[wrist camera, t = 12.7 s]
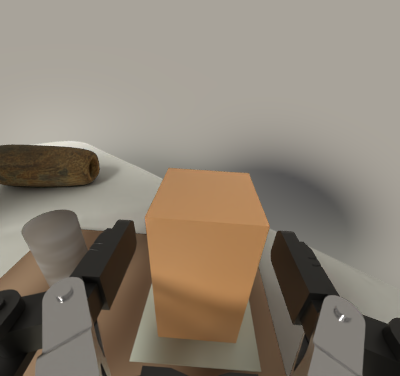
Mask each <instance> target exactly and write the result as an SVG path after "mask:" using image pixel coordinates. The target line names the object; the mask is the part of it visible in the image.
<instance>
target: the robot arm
mask: <svg viewBox="0 0 400 376" xmlns="http://www.w3.org/2000/svg"><path fill="white" fill-rule="evenodd" d="M136 244H137V241H136V234H135V227H134V222H133V221H132V220H118V221H117V222H116V224H115V225H114V227H113V228H112V229H111V228H107V229H106V230H105V231H103V232H102V233H101V234H99V236H98V237H97V239H96V240H95V241H94V244H92V246H91V247H90V248H89V250H88V251H87V253H86V254H85V255H84V257H83V258H82V260H81V261H80V262H79V264H78V265H77V267H76V268H75V269H74V271H73V272H72V274H71V275H70V276H69V278H65V279H62V280H60V281H58V282H57V283H55V284H54V285H52V286H51V287H50V288H49V289H48V290H47V291H45V292H41V293H36V294H32V295H27V296H23V297H21V295H20V294H19V292H18V291H16V290H13V289H7V290H3V291H0V376H23V374H24V373H25V371H26V369H27V367H28V366H29V364H30V362H31V361H32V359H33V357H34V355H35V354H36V352H37V350H39V349H42V354H41V355H39V356H38V357H37V360H36V365H35V376H111V373H110V370H109V367H108V363H107V359H106V355H105V350H104V346H103V341H102V337H101V332H100V328H99V324H98V320H97V318H98V316H99V314H100V312H101V310H110V308H111V306H112V304H113V301H114V299H115V297H116V294H117V292H118V290H119V288H120V285H121V283H122V281H123V278H124V276H125V274H126V271H127V269H128V267H129V264H130V262H131V260H132V257H133V255H134V253H135V250H136ZM271 262H272V265H273V268H274V270H275V273H276V276H277V279H278V282H279V285H280V288H281V291H282V294H283V297H284V300H285V303H286V306H287V309H288V312H289V314H290V317H291V320H292V323H293V324H294V325H302V326H303V329H304V333H303V336H302V339H301V342H300V345H299V348H298V351H297V355H296V358H295V361H294V364H293V367H292V370H291V373H290V376H362V375H363V376H400V318H394V319H392V320H391V321H390V322H389V323H388V324H386V323H384V322H381V321H378V320H375V319H373V318H370V317H367V316H365V315H362V314H361V312H360V311H359V310H358V309H357V308H356V307H355V306H354V305H353V304H352V303H351V302H349V301H348V300H346V299H344V298H342V297H340V296H339V294H338V293H337V291H336V289H335V288H334V286H333V284H332V283H331V281H330V279H329V278H328V276H327V274H326V273H325V271H324V269H323V268H322V267H321V264H320V263H319V261H318V260H317V258H316V256H315V254H314V253H313V251H312V250H311V249H310V248H309V247H308V246H307V245H306V244H305V243H304V242H299V240H298V239H297V237H296V235H295V233H294V232H291V231H278V232H277V234H276V237H275V240H274V243H273V246H272V249H271ZM138 376H188V375H186V374H184V373H182V372H179V371H177V370H175V369H173V368H168V367H155V366H142V370H141V374H140V375H138ZM218 376H258V374H247V373H234V372H229V373H225V374H221V375H218Z"/></svg>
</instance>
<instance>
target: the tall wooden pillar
mask: <svg viewBox="0 0 400 376" xmlns="http://www.w3.org/2000/svg"><path fill="white" fill-rule="evenodd" d="M145 223H146V232H147V241H148V250H149V259H150V269H151V278H152V287H153V296H154V305H155V314H156V323H157V332H158V337H167V338H179V339H191V340H203V341H215V342H226V343H236V341H237V338H238V334H239V331H240V327H241V324H242V321H243V317H244V314H245V310H246V307H247V303H248V300H249V296H250V293H251V289H252V286H253V283H254V279H255V276H256V272H257V269H258V265H259V262H260V258H261V255H262V251H263V248H264V245H265V241H266V238H267V234H268V231H269V227H270V225H269V223H268V220H267V218H266V216H265V213H264V210H263V208H262V205H261V203H260V200H259V198H258V195H257V193H256V190H255V188H254V185H253V183H252V180H251V178H250V175H249V173H236V172H222V171H207V170H192V169H177V168H168V171H167V173H166V174H165V177H164V179H163V181H162V183H161V185H160V187H159V189H158V191H157V193H156V195H155V197H154V199H153V201H152V203H151V206H150V208H149V210H148V212H147V214H146V216H145Z"/></svg>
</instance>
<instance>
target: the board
mask: <svg viewBox="0 0 400 376" xmlns="http://www.w3.org/2000/svg"><path fill="white" fill-rule="evenodd" d="M102 232H103V231H95V230H81V228H80V225H79V222H78V218H77V215H76V214H75V213H74V212H72V211H69V210H55V211H50V212H47V213H44V214H41V215H39V216H37V217H35V218H33V219H31V220H30V221H29V222H27V223H26V224H25V225H24V227H23V228H22V235H23V237H24V239H25V241H26V243H27V245H28V247H29V249H30V251H29V252H28V253H27V254H26V255H25V256H24V257H22V258H21V259H20V260H19V261H18V262H17V263H16V264H15V265H14V266H13V267H12V268H11V269H10V270H9V271H8V272H7V273H6V274H5V275H3V276H2V277H1V278H0V291H3V290H7V289H13V290H16V291H18V292H19V294H20V295H21V297H23V296H27V295H32V294H36V293H41V292H45V291H47V290H48V289H49V288H50V287H51V286H52V285H54V284H55V283H57V282H58V281H60V280H62V279H65V278H69V276H70V275H71V274H72V272H73V271H74V269H75V268H76V267H77V265H78V264H79V262H80V261H81V260H82V258H83V257H84V255H85V254H86V253H87V251H88V250H89V248H90V247H91V246H92V244H94V241H95V240H96V239H97V237H98V236H99V234H101V233H102ZM135 234H136V241H137V244H136V250H135V253H134V255H133V257H132V260H131V262H130V264H129V267H128V269H127V271H126V274H125V276H124V278H123V281H122V283H121V285H120V288H119V290H118V292H117V294H116V297H115V299H114V301H113V304H112V306H111V308H110V310H101V312H100V314H99V316H98V318H97V320H98V324H99V328H100V332H101V337H102V341H103V346H104V350H105V355H106V359H107V363H108V367H109V370H110V373H111V376H138V375H140V374H141V370H142V366H155V367H168V368H173V369H175V370H177V371H179V372H182V373H184V374H186V375H188V376H218V375H221V374H225V373H229V372H234V373H247V374H258V376H286V373H285V369H284V365H283V361H282V357H281V353H280V349H279V345H278V341H277V337H276V333H275V330H274V326H273V322H272V318H271V314H270V310H269V306H268V302H267V298H266V294H265V290H264V286H263V282H262V279H261V275H260V271H259V267H258V269H257V272H256V276H255V279H254V283H253V286H252V289H251V293H250V296H249V300H248V303H247V307H246V310H245V314H244V317H243V321H242V324H241V327H240V331H239V334H238V338H237V341H236V343H226V342H215V341H203V340H191V339H179V338H167V337H158V332H157V323H156V314H155V305H154V296H153V287H152V278H151V269H150V259H149V250H148V241H147V234H137V233H135ZM41 354H42V349H39V350H37V352H36V354H35V355H34V357H33V359H32V361H31V362H30V364H29V366H28V367H27V369H26V371H25V373H24V374H23V376H35V365H36V360H37V357H38V356H39V355H41Z"/></svg>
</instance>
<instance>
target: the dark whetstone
mask: <svg viewBox="0 0 400 376" xmlns="http://www.w3.org/2000/svg"><path fill="white" fill-rule="evenodd" d="M99 170H100V168H99V161H98V157H97V155H96V154H95V153H93V152H92V151H89V150H85V149H80V148H72V147H59V146H38V145H1V146H0V184H1V185H10V186H35V187H54V186H74V185H83V184H88V183H91V182H92V181H93V180H94V179H95V178H96V177H97V176H98V174H99Z"/></svg>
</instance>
